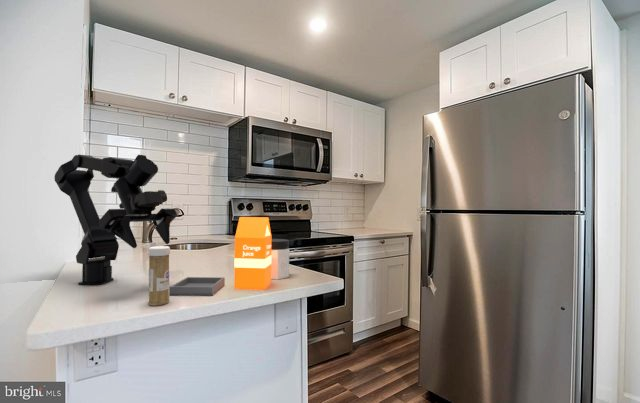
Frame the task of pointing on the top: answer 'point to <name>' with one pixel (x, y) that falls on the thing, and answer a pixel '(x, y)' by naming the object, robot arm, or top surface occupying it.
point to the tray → (197, 286)
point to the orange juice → (252, 253)
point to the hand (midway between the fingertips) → (152, 245)
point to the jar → (279, 258)
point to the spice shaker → (158, 275)
